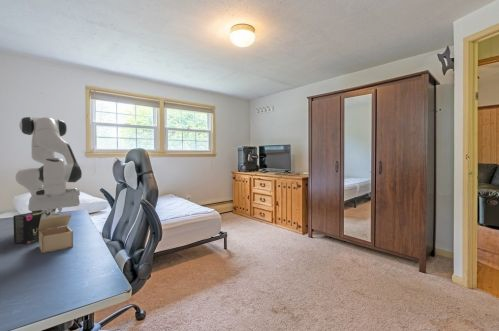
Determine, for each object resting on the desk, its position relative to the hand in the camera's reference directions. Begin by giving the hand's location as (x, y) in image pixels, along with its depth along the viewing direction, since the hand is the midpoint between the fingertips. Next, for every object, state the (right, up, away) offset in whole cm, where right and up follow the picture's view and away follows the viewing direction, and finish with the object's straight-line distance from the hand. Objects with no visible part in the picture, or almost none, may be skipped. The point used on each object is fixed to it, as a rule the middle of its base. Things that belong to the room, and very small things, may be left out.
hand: (55, 217), depth 123 cm
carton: (-1, -15, +1) cm, 15 cm away
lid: (-2, -3, +2) cm, 4 cm away
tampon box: (-22, -15, +10) cm, 29 cm away
